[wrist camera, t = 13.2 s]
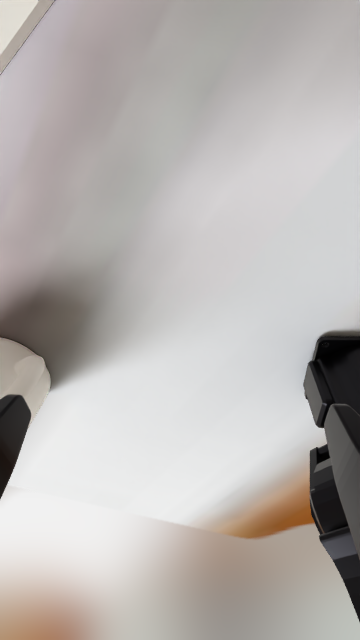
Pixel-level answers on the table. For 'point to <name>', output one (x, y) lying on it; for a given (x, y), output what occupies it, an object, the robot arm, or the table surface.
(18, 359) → the mug
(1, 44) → the plate
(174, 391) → the table surface
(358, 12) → the table surface
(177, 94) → the table surface
